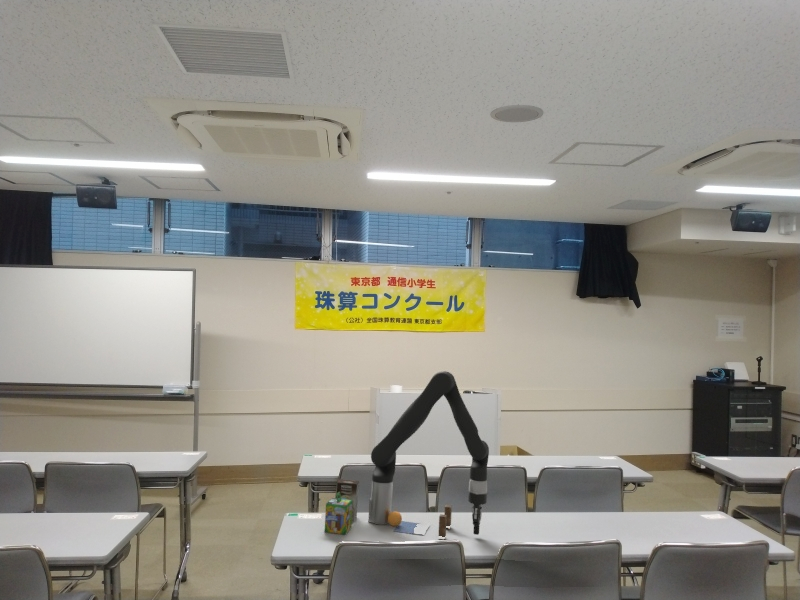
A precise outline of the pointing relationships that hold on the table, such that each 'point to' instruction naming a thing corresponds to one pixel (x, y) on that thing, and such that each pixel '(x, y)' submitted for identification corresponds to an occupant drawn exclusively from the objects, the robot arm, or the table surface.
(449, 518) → the post
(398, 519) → the ball
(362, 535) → the table surface
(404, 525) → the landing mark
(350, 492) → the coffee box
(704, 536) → the table surface
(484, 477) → the robot arm
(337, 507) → the chalk box
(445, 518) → the post
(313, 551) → the table surface
